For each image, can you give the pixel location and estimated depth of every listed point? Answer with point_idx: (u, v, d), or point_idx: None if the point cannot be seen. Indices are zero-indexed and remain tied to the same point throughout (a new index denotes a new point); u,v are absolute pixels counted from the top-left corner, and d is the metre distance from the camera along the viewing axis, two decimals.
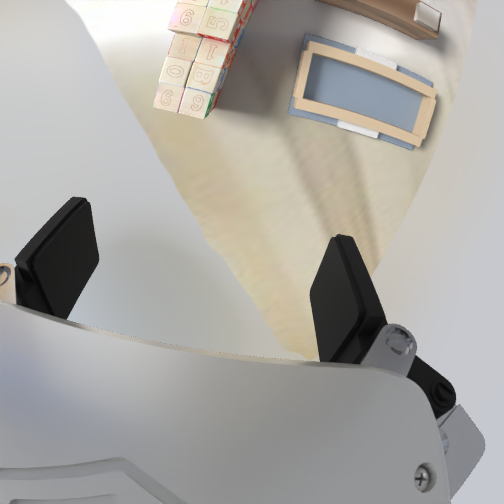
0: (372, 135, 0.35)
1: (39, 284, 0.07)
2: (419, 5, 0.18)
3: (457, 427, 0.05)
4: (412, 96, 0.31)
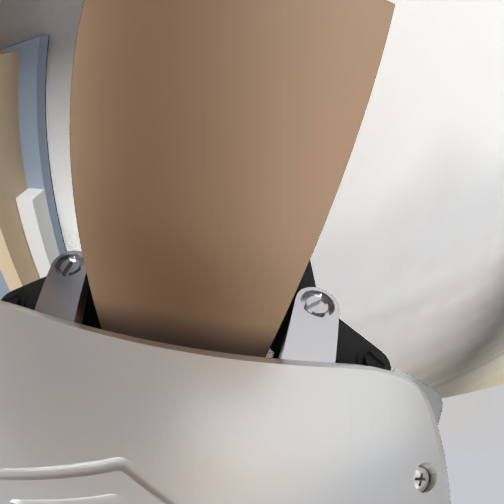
0: None
1: None
2: None
3: None
4: None
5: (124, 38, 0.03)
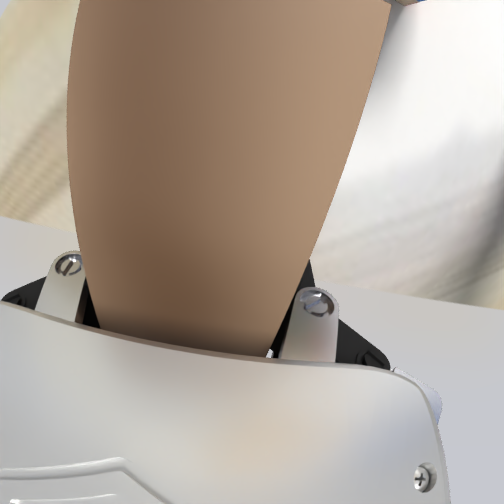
0: None
1: None
2: None
3: None
4: None
5: (119, 43, 0.03)
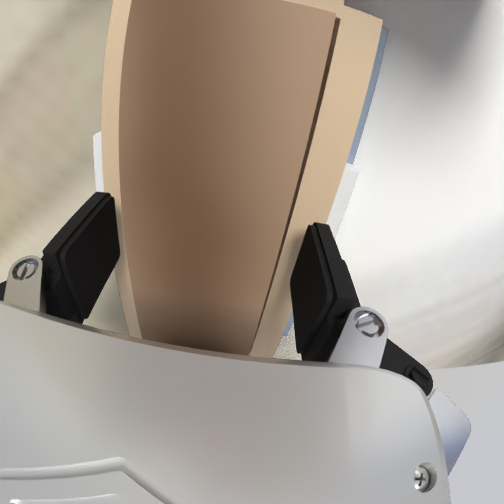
0: None
1: (67, 276, 0.07)
2: None
3: (438, 410, 0.05)
4: None
5: (159, 47, 0.05)
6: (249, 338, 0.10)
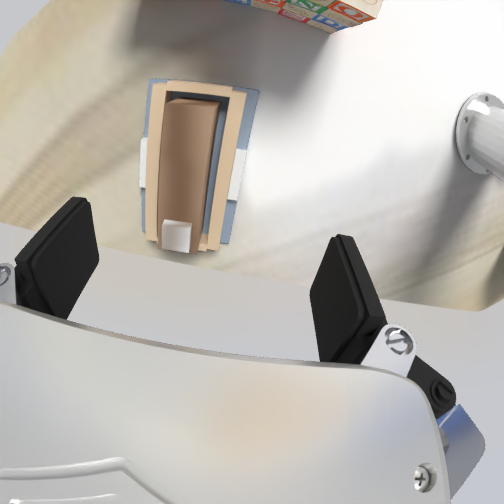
0: (141, 181, 0.31)
1: (39, 284, 0.07)
2: (185, 227, 0.28)
3: (457, 426, 0.05)
4: None
5: (172, 119, 0.22)
6: (198, 212, 0.28)
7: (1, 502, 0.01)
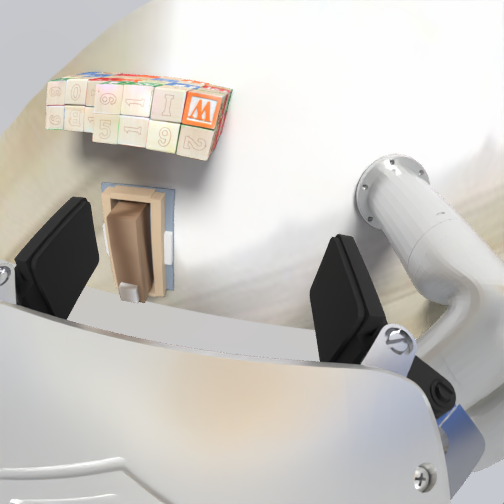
0: (107, 251, 0.44)
1: (39, 284, 0.07)
2: (133, 288, 0.41)
3: (457, 426, 0.05)
4: None
5: (113, 226, 0.36)
6: (140, 279, 0.41)
7: (1, 502, 0.01)
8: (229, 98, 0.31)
